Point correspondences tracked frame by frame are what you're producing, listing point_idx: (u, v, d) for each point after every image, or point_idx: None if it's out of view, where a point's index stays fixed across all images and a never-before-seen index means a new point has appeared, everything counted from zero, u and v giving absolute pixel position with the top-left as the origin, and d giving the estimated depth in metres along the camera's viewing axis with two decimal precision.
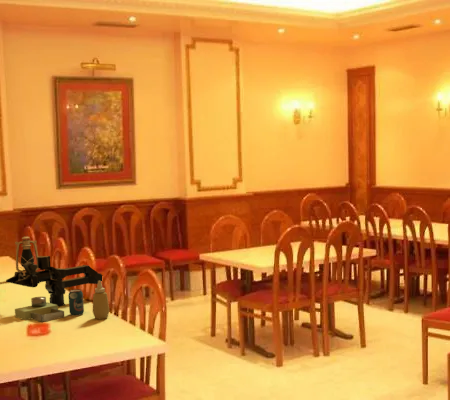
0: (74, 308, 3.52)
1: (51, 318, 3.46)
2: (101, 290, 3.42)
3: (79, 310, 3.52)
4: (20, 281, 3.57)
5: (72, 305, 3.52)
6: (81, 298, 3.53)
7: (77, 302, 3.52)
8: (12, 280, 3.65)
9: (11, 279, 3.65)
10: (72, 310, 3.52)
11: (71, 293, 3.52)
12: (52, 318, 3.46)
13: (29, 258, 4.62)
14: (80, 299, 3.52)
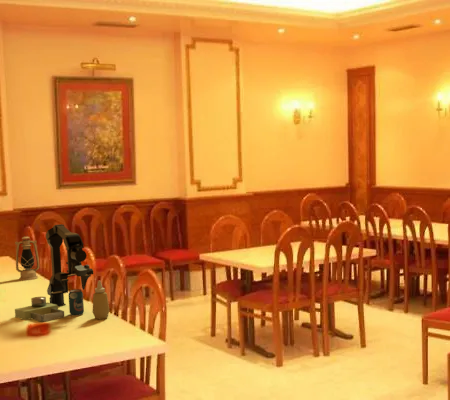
0: (74, 308, 3.52)
1: (51, 318, 3.46)
2: (101, 290, 3.42)
3: (79, 310, 3.52)
4: None
5: (72, 305, 3.52)
6: (81, 298, 3.53)
7: (77, 302, 3.52)
8: None
9: None
10: (72, 310, 3.52)
11: (71, 293, 3.52)
12: (52, 318, 3.46)
13: (29, 258, 4.62)
14: (80, 299, 3.52)
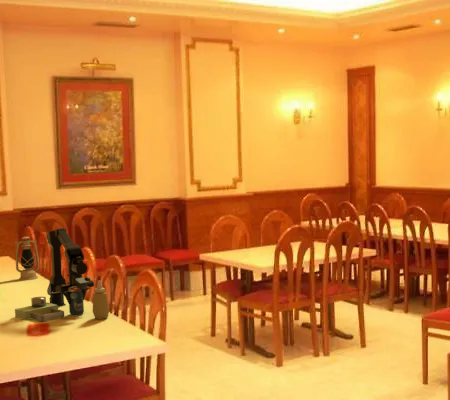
0: (74, 308, 3.52)
1: (51, 318, 3.46)
2: (101, 290, 3.42)
3: (79, 310, 3.52)
4: None
5: (72, 305, 3.52)
6: (81, 298, 3.53)
7: (77, 302, 3.52)
8: None
9: None
10: (72, 310, 3.52)
11: (71, 293, 3.52)
12: (52, 318, 3.46)
13: (29, 258, 4.62)
14: (80, 299, 3.52)
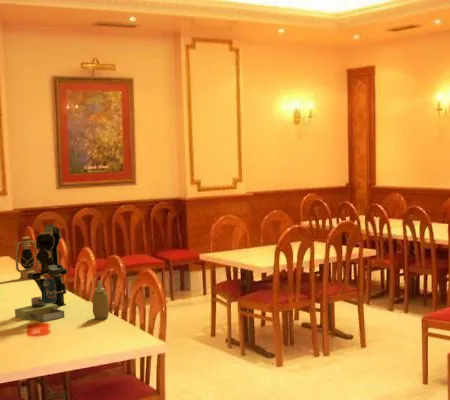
0: (46, 296, 3.47)
1: (51, 318, 3.46)
2: (101, 290, 3.42)
3: (52, 297, 3.48)
4: None
5: (44, 292, 3.47)
6: (54, 286, 3.49)
7: (49, 290, 3.47)
8: None
9: None
10: (45, 297, 3.47)
11: (43, 281, 3.47)
12: (52, 318, 3.46)
13: (29, 258, 4.62)
14: (52, 286, 3.48)
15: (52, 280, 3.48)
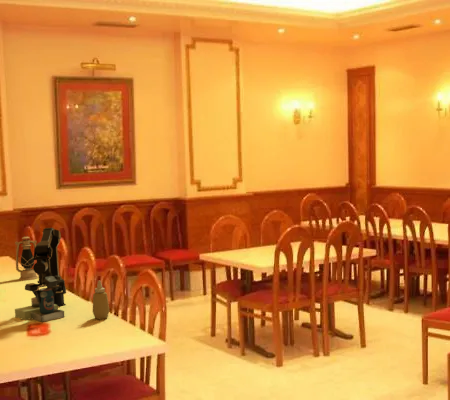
0: (44, 307, 3.47)
1: (51, 318, 3.46)
2: (101, 290, 3.42)
3: (49, 309, 3.48)
4: None
5: (41, 303, 3.47)
6: (51, 297, 3.49)
7: (47, 301, 3.47)
8: None
9: None
10: (42, 309, 3.47)
11: (41, 292, 3.47)
12: (52, 318, 3.46)
13: (29, 258, 4.62)
14: (50, 298, 3.48)
15: (50, 291, 3.48)
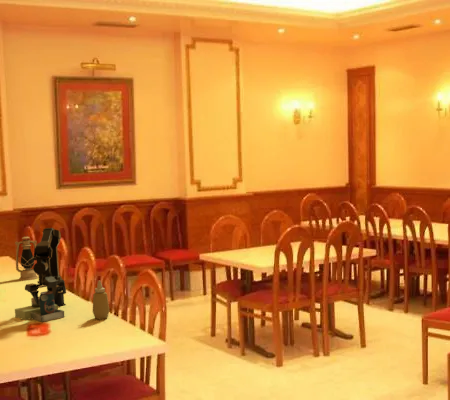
0: (44, 310, 3.47)
1: (51, 318, 3.46)
2: (101, 290, 3.42)
3: (50, 312, 3.48)
4: None
5: (42, 307, 3.47)
6: (52, 300, 3.49)
7: (48, 304, 3.47)
8: None
9: None
10: (43, 312, 3.47)
11: (42, 295, 3.48)
12: (52, 318, 3.46)
13: (29, 258, 4.62)
14: (51, 301, 3.48)
15: (50, 295, 3.48)
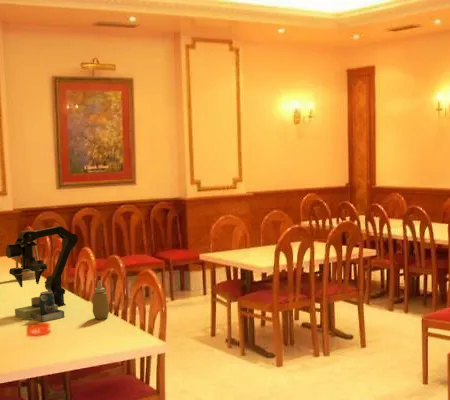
0: (44, 311, 3.47)
1: (51, 318, 3.46)
2: (101, 290, 3.42)
3: (50, 312, 3.48)
4: None
5: (42, 307, 3.47)
6: (52, 300, 3.49)
7: (48, 304, 3.47)
8: None
9: None
10: (43, 312, 3.47)
11: (42, 295, 3.48)
12: (52, 318, 3.46)
13: None
14: (51, 301, 3.48)
15: (50, 295, 3.48)
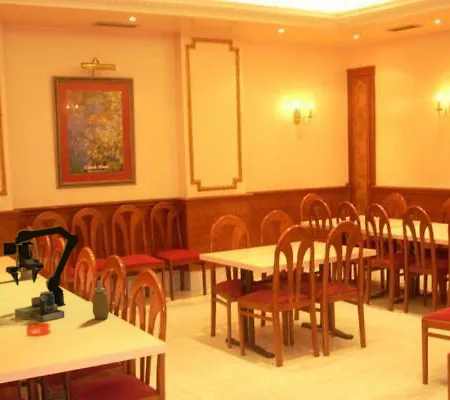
0: (44, 311, 3.47)
1: (51, 318, 3.46)
2: (101, 290, 3.42)
3: (50, 312, 3.48)
4: None
5: (42, 307, 3.47)
6: (52, 300, 3.49)
7: (48, 304, 3.47)
8: None
9: None
10: (43, 312, 3.47)
11: (42, 295, 3.48)
12: (52, 318, 3.46)
13: None
14: (51, 301, 3.48)
15: (50, 295, 3.48)
